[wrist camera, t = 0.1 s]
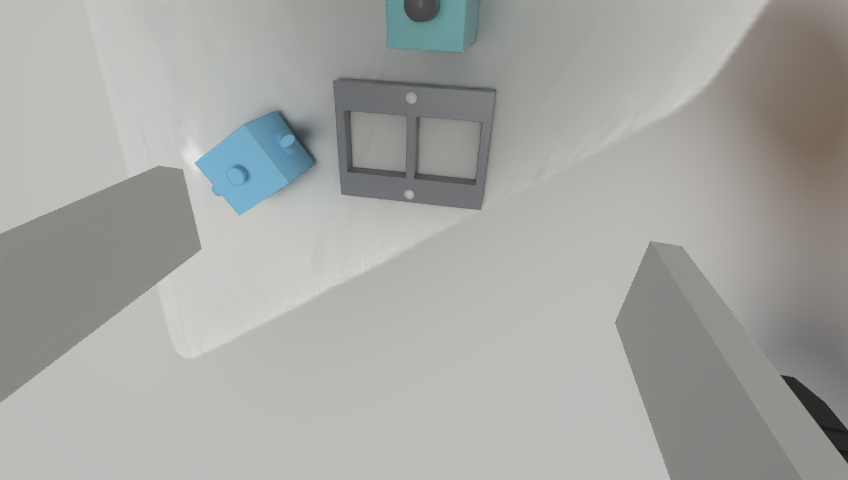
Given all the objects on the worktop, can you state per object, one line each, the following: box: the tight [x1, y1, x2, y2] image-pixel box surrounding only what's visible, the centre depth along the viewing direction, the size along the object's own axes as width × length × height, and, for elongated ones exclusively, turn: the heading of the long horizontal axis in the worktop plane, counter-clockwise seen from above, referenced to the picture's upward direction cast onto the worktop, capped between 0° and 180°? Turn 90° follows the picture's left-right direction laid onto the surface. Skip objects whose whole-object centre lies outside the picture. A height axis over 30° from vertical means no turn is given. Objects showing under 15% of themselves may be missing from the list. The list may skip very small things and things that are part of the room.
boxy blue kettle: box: [195, 111, 315, 215], centre depth 38 cm, size 12×6×8 cm, turn 122°
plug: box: [386, 0, 480, 52], centre depth 26 cm, size 4×4×14 cm
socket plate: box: [333, 79, 496, 210], centre depth 38 cm, size 11×14×2 cm
